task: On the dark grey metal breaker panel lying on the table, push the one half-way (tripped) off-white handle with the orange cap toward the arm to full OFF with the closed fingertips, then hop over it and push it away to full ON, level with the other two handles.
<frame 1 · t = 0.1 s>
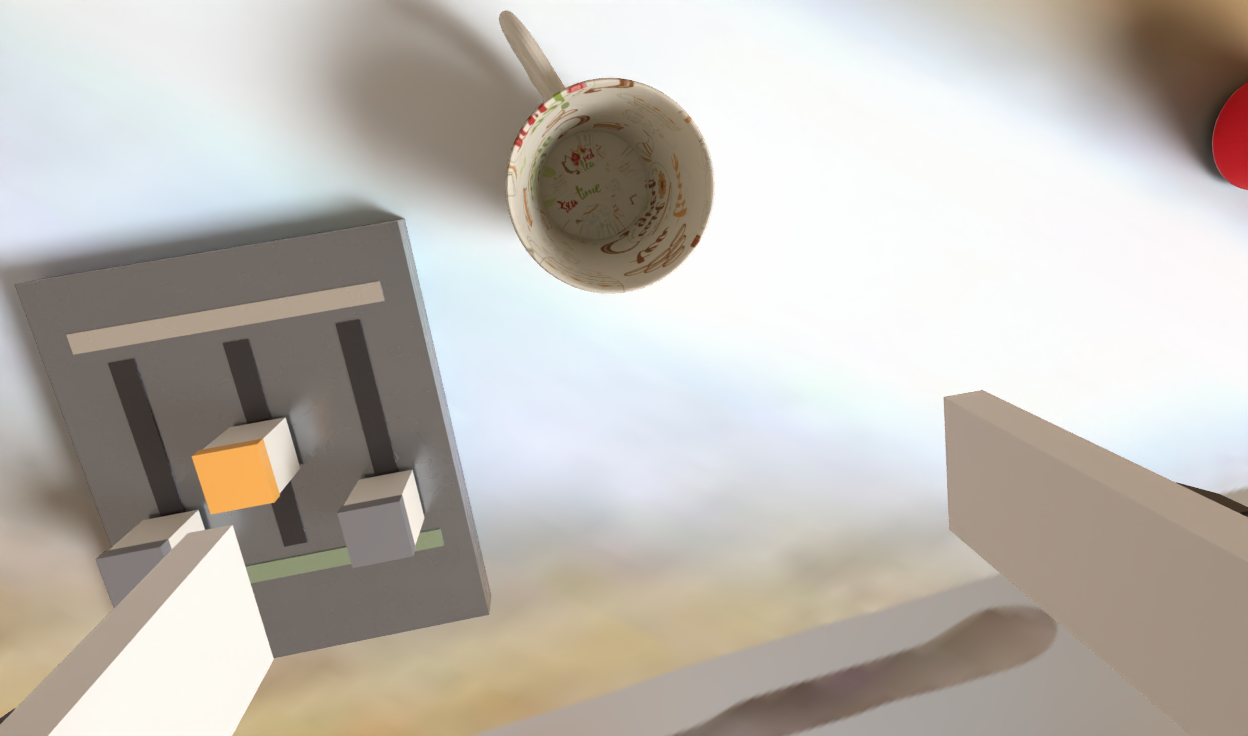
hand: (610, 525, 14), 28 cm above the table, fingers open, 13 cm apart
breaker 3: (384, 516, 38), point 4 cm above the table, slide at 8.0 cm
breaker 1: (159, 559, 38), point 4 cm above the table, slide at 8.0 cm
panel: (284, 450, 41), on the table
mug: (570, 150, 39), on the table
breaker 2 tripped: (250, 462, 37), point 4 cm above the table, slide at 4.0 cm
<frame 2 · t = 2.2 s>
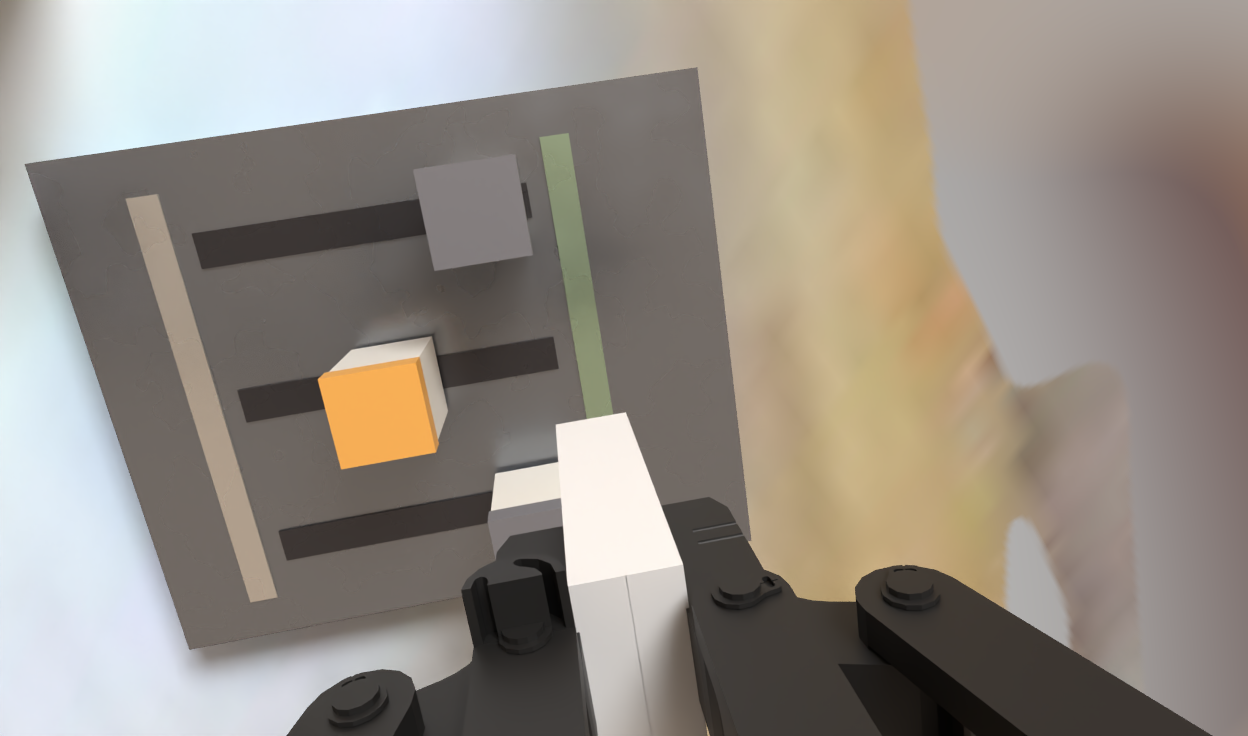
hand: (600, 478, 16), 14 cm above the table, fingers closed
breaker 3: (478, 210, 24), point 4 cm above the table, slide at 8.0 cm
breaker 1: (539, 525, 27), point 4 cm above the table, slide at 8.0 cm
panel: (436, 361, 29), on the table
breaker 2 tripped: (390, 397, 25), point 4 cm above the table, slide at 4.0 cm
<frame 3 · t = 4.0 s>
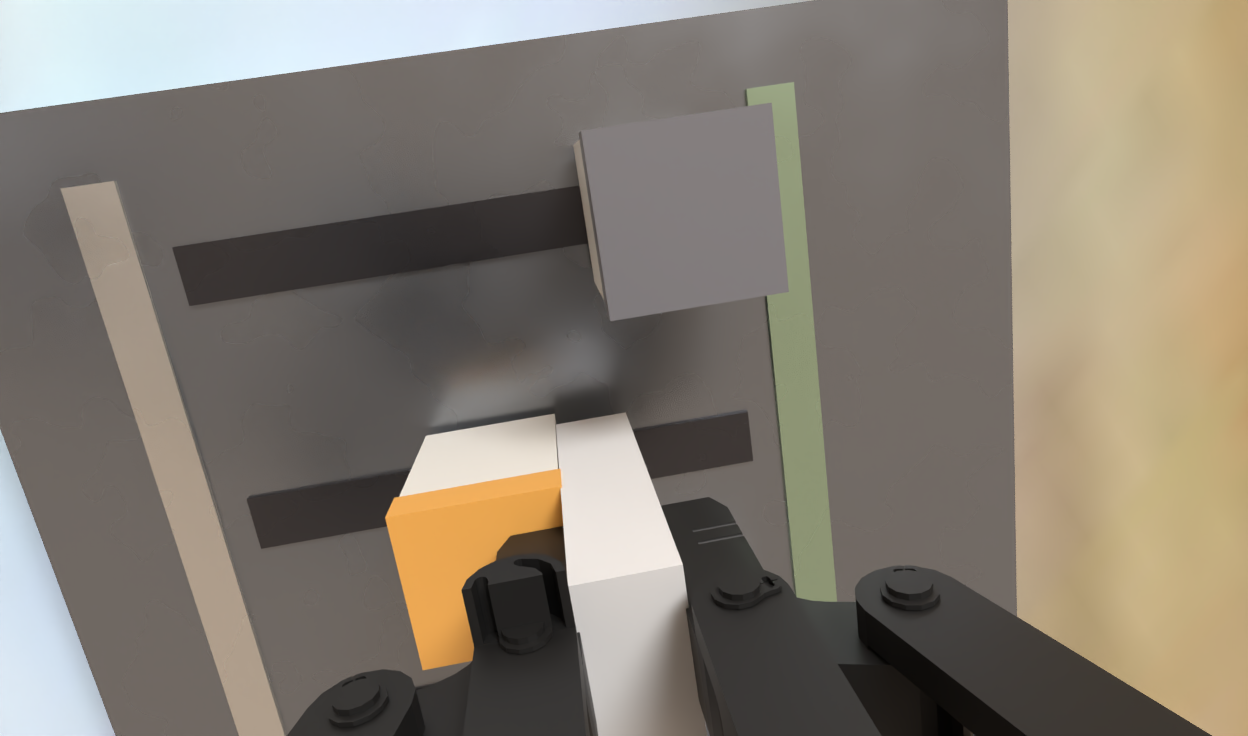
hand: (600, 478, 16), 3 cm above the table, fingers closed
breaker 3: (667, 209, 14), point 4 cm above the table, slide at 8.0 cm
breaker 1: (732, 720, 17), point 4 cm above the table, slide at 8.0 cm
panel: (550, 440, 19), on the table
breaker 2 tripped: (497, 525, 15), point 4 cm above the table, slide at 3.9 cm, touching gripper
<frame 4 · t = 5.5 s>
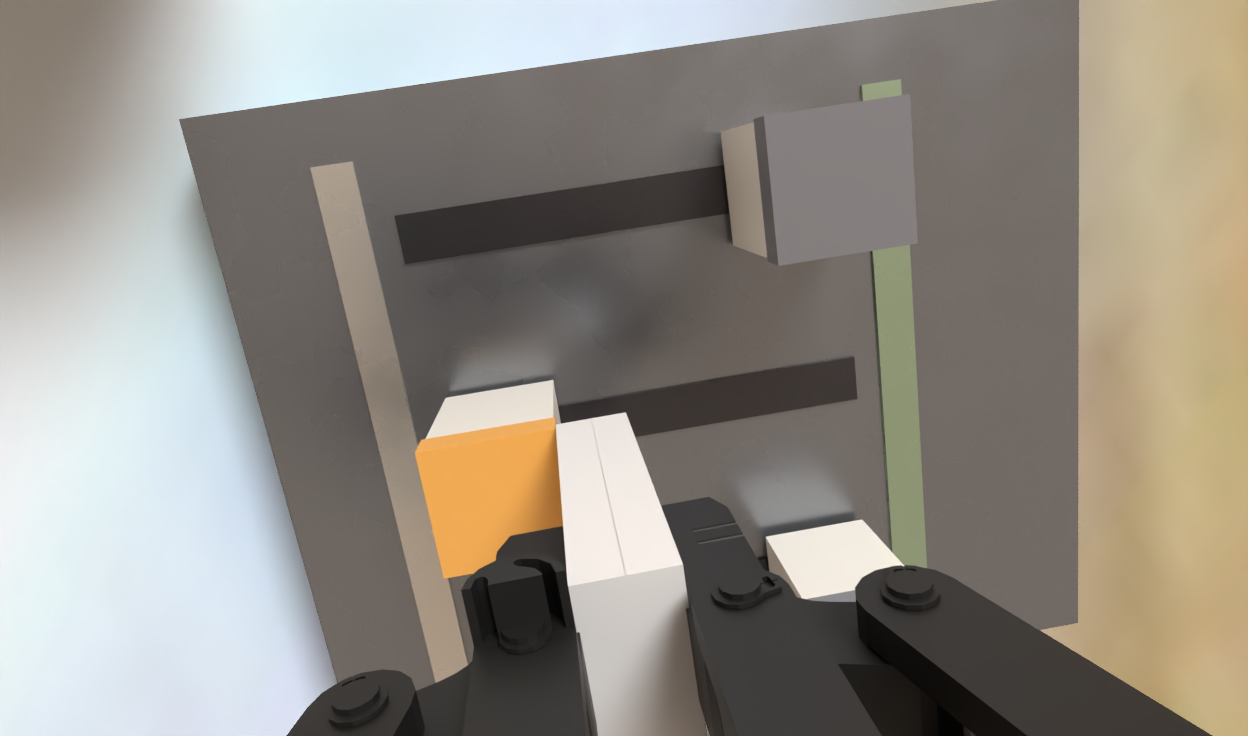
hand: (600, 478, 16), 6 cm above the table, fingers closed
breaker 3: (808, 181, 17), point 4 cm above the table, slide at 8.0 cm
breaker 1: (845, 612, 20), point 4 cm above the table, slide at 8.0 cm
panel: (677, 385, 23), on the table
breaker 2 tripped: (504, 468, 18), point 4 cm above the table, slide at 0.1 cm
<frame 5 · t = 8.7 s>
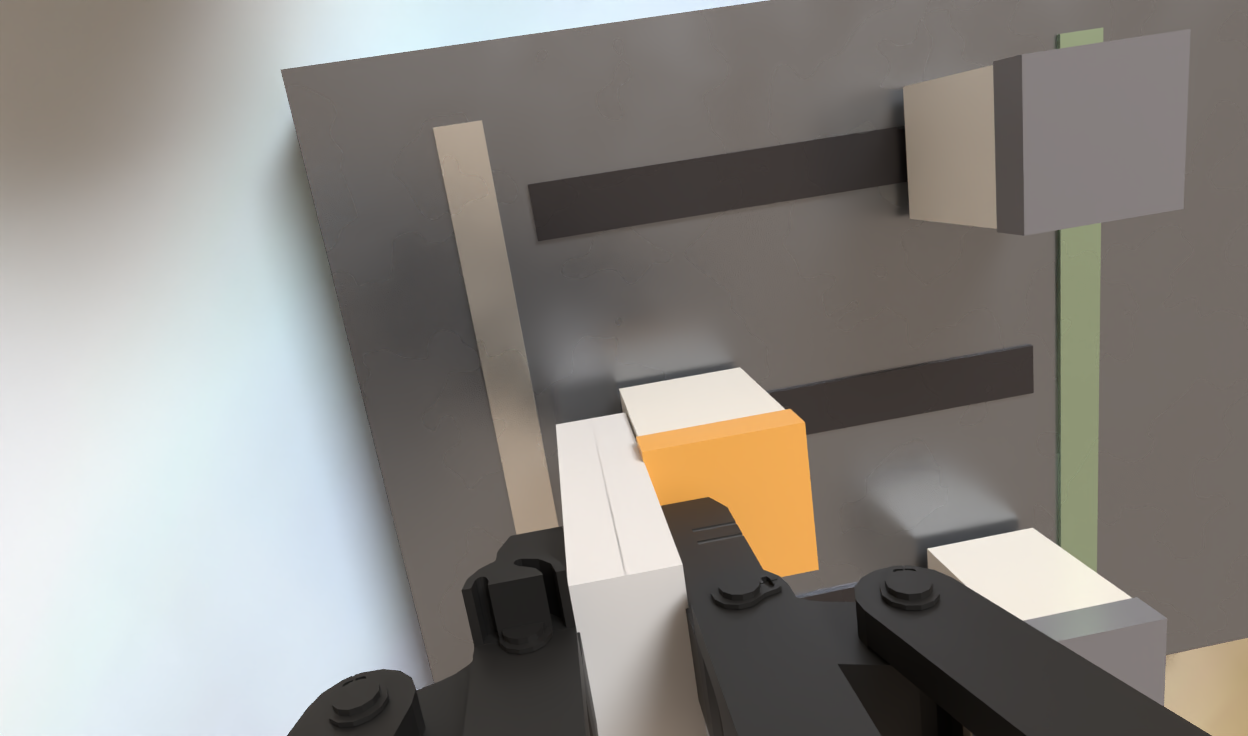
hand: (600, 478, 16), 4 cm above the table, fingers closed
breaker 3: (1027, 140, 15), point 4 cm above the table, slide at 8.0 cm
breaker 1: (1033, 634, 18), point 4 cm above the table, slide at 8.0 cm
panel: (818, 380, 20), on the table
breaker 2 tripped: (707, 469, 16), point 4 cm above the table, slide at 1.0 cm, touching gripper
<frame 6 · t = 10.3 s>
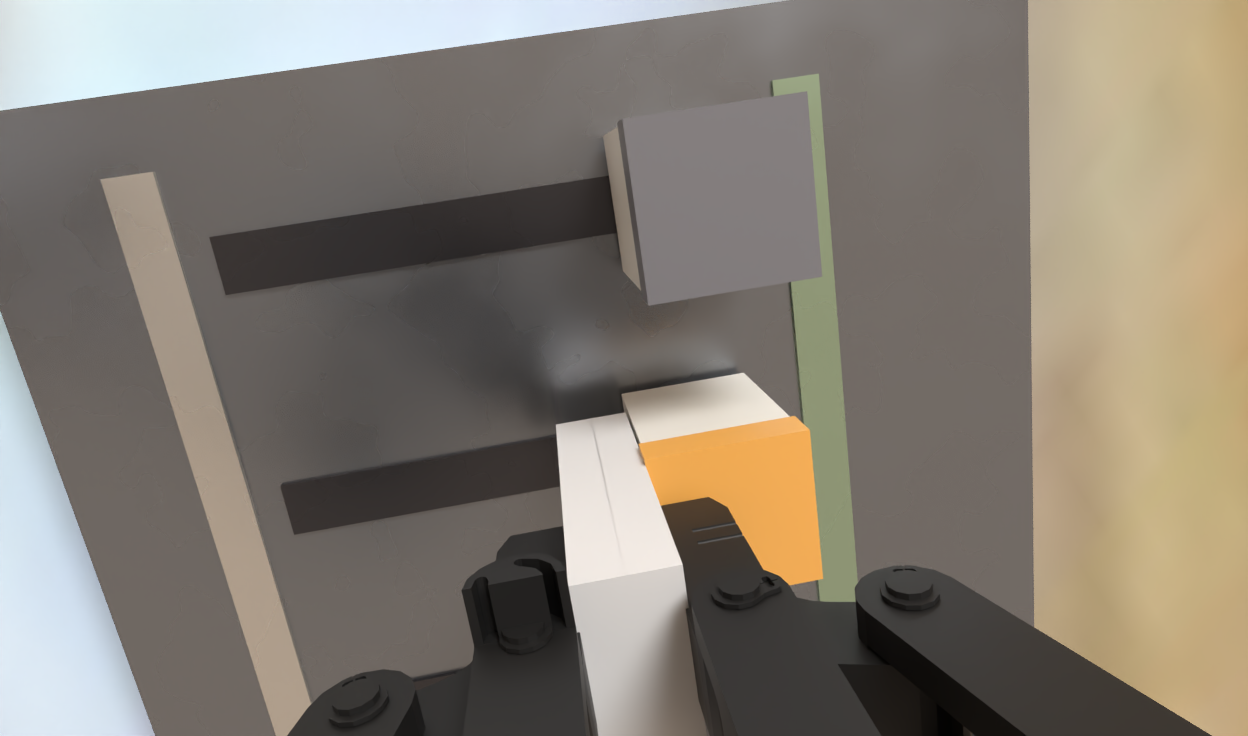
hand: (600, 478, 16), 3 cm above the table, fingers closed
breaker 3: (698, 197, 14), point 4 cm above the table, slide at 8.0 cm
breaker 1: (759, 701, 17), point 4 cm above the table, slide at 8.0 cm
panel: (575, 428, 20), on the table
breaker 2 tripped: (710, 476, 15), point 4 cm above the table, slide at 7.6 cm, touching gripper
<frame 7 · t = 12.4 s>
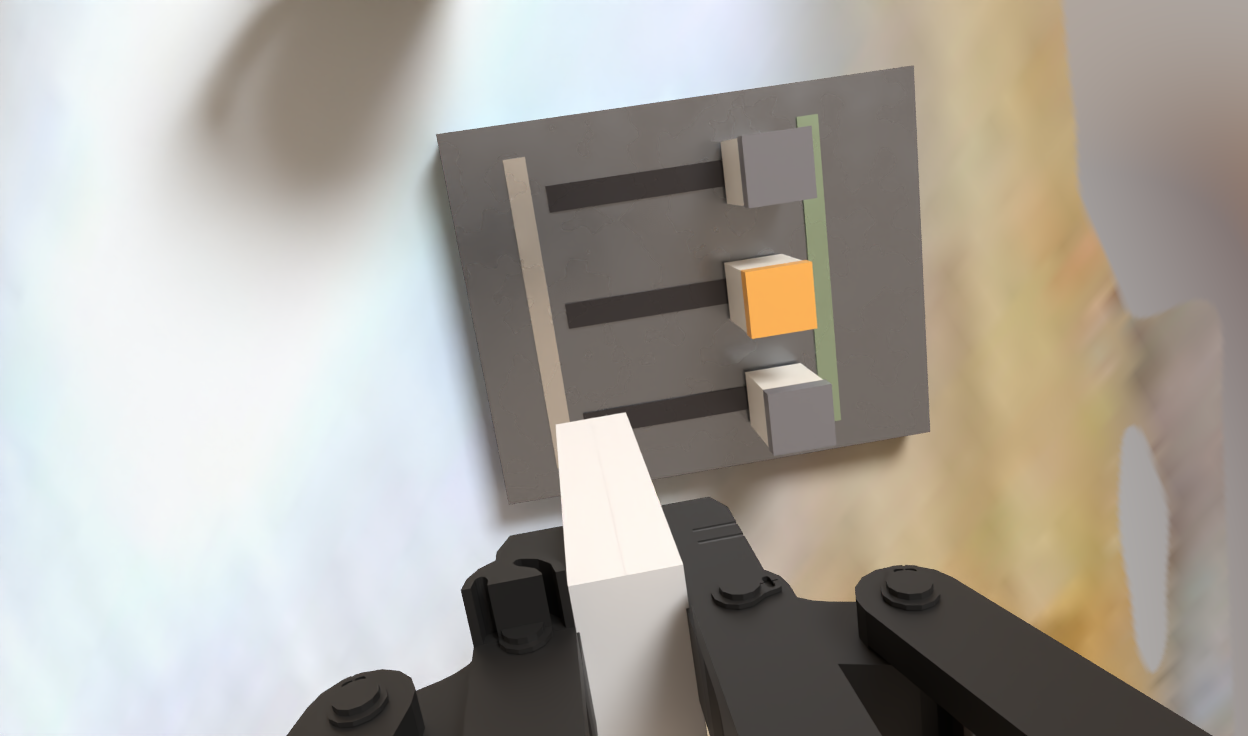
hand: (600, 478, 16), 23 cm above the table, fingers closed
breaker 3: (765, 168, 33), point 4 cm above the table, slide at 8.0 cm
breaker 1: (788, 406, 36), point 4 cm above the table, slide at 8.0 cm
panel: (694, 288, 39), on the table
breaker 2 tripped: (768, 293, 35), point 4 cm above the table, slide at 7.6 cm
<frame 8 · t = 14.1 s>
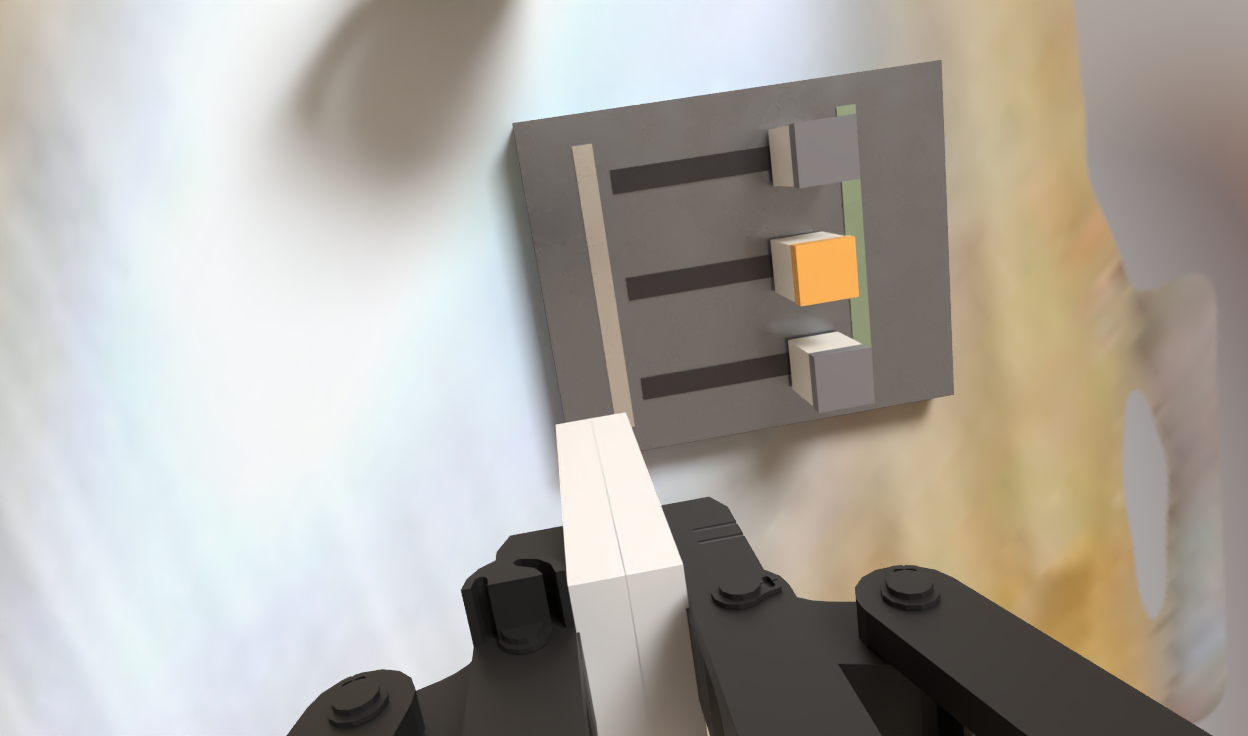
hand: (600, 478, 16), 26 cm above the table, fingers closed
breaker 3: (811, 152, 37), point 4 cm above the table, slide at 8.0 cm
breaker 1: (829, 369, 40), point 4 cm above the table, slide at 8.0 cm
panel: (740, 265, 42), on the table
breaker 2 tripped: (812, 266, 38), point 4 cm above the table, slide at 7.6 cm
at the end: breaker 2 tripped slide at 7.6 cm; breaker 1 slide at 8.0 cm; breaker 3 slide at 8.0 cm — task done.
